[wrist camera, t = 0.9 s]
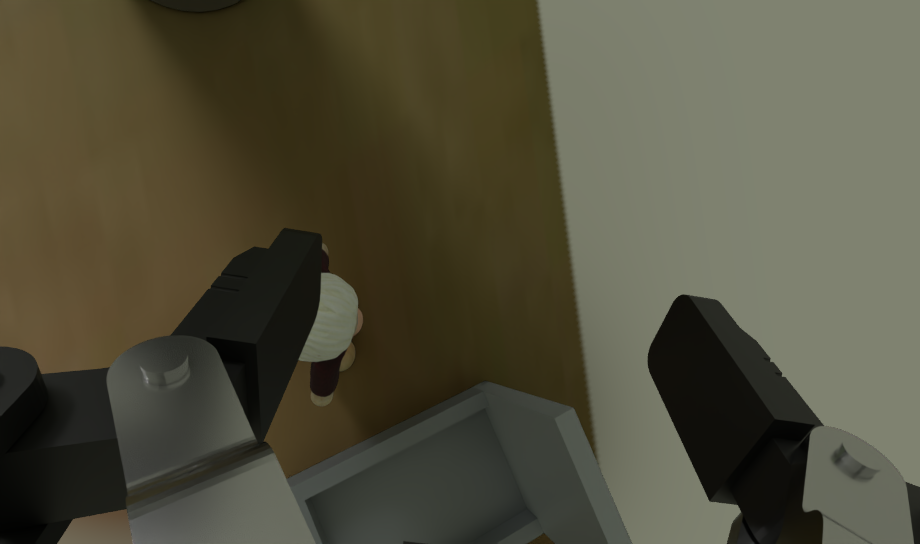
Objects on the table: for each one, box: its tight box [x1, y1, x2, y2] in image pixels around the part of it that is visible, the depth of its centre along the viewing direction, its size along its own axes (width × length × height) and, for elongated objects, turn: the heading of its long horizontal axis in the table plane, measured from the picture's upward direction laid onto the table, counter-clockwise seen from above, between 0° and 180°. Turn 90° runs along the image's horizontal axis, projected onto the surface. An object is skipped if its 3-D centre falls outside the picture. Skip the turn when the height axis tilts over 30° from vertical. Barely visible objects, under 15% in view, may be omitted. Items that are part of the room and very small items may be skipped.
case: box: [286, 381, 632, 544], centre depth 22 cm, size 9×13×12 cm
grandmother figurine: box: [298, 243, 363, 406], centre depth 22 cm, size 8×4×13 cm, turn 16°
